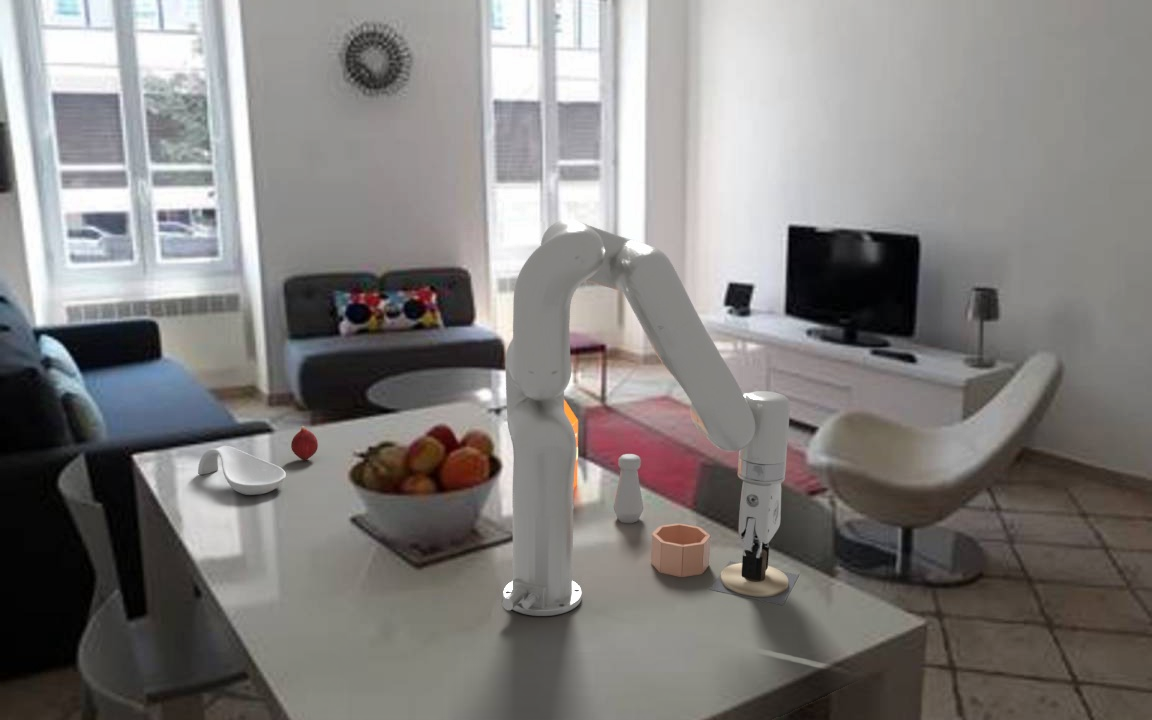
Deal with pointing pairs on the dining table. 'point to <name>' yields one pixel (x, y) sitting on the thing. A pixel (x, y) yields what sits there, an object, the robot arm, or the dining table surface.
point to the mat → (772, 599)
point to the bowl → (680, 550)
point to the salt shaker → (628, 490)
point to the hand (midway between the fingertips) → (754, 572)
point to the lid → (767, 586)
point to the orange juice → (575, 427)
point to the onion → (304, 444)
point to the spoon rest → (243, 470)
